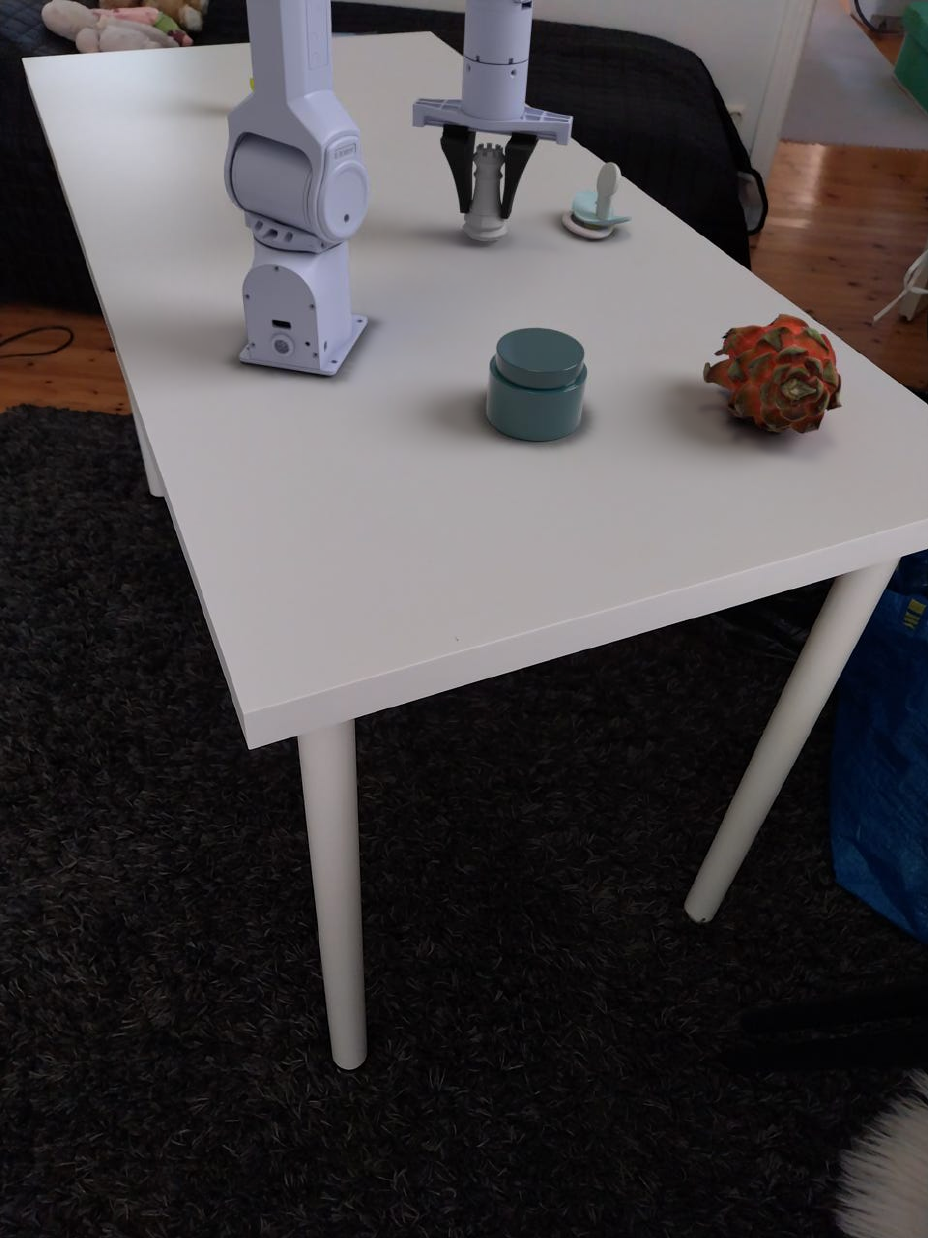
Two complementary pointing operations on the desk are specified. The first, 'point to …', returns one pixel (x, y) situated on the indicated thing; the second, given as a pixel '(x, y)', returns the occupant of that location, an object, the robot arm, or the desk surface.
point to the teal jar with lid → (536, 384)
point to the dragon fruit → (778, 374)
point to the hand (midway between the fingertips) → (486, 212)
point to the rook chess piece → (486, 195)
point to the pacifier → (601, 215)
